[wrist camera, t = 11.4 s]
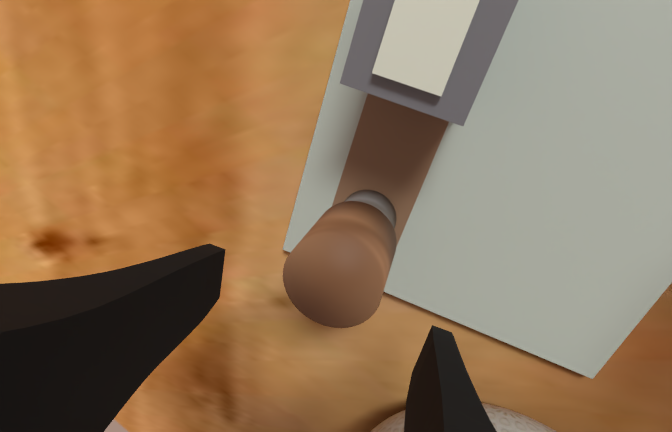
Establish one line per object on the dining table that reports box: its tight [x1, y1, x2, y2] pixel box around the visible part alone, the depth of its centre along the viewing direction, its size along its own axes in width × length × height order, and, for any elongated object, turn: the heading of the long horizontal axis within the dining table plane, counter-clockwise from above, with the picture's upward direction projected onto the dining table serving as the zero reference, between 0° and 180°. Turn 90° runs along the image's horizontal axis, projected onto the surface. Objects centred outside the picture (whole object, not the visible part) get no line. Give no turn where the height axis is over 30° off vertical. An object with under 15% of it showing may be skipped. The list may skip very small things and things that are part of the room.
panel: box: [283, 0, 672, 379], centre depth 18 cm, size 18×21×1 cm
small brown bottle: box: [283, 190, 397, 328], centre depth 18 cm, size 4×4×7 cm
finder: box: [340, 0, 518, 126], centre depth 14 cm, size 4×7×5 cm, turn 163°
